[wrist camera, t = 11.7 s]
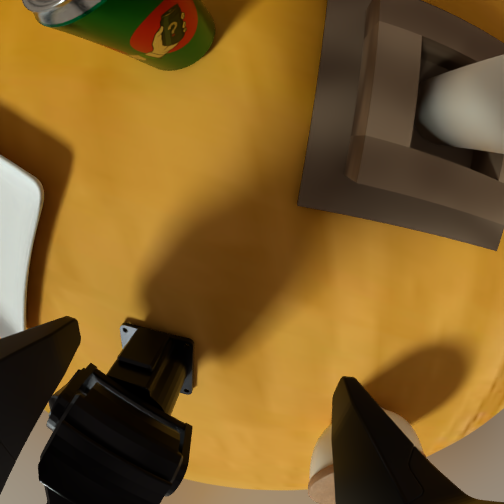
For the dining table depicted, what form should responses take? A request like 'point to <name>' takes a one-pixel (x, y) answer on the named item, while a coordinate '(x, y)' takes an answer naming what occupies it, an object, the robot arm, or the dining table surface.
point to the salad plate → (16, 241)
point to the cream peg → (464, 107)
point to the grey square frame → (397, 124)
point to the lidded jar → (322, 461)
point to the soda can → (135, 27)
